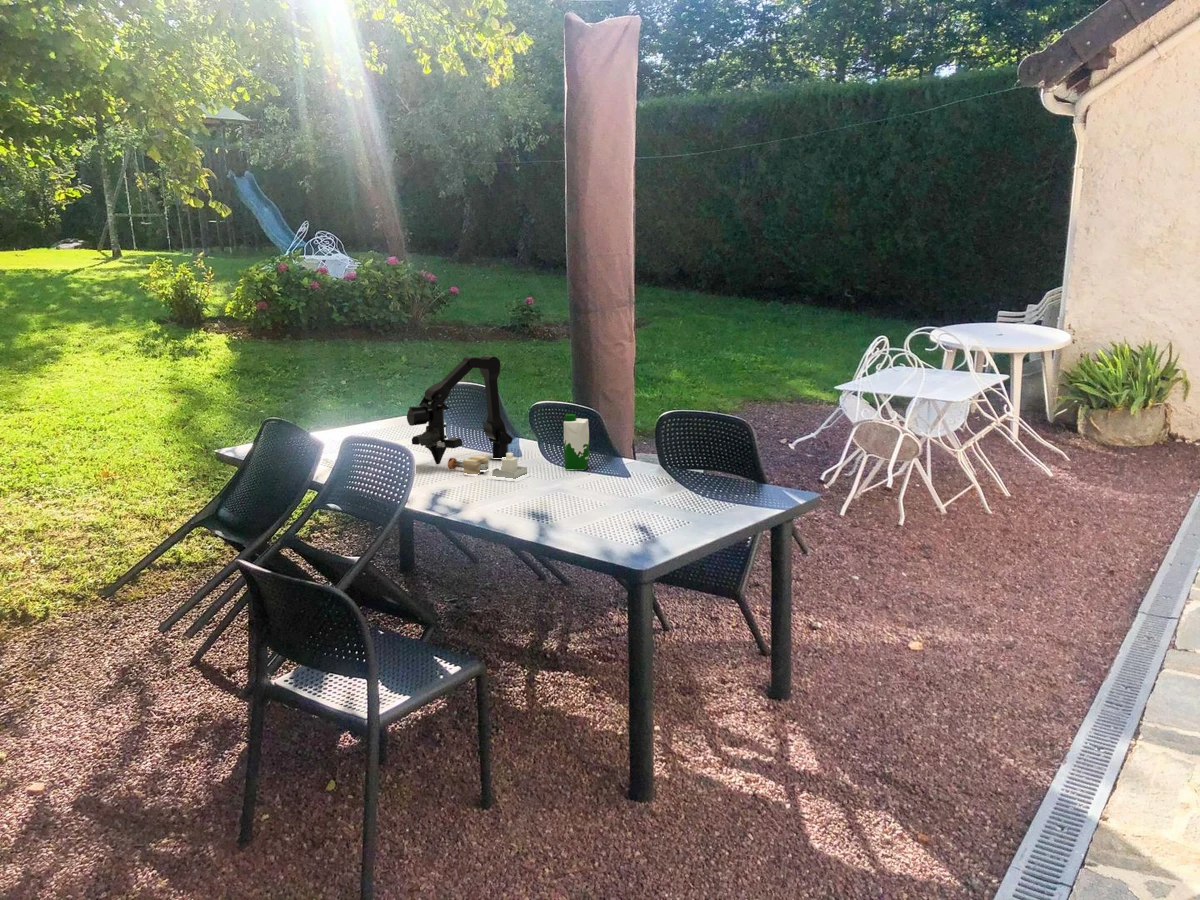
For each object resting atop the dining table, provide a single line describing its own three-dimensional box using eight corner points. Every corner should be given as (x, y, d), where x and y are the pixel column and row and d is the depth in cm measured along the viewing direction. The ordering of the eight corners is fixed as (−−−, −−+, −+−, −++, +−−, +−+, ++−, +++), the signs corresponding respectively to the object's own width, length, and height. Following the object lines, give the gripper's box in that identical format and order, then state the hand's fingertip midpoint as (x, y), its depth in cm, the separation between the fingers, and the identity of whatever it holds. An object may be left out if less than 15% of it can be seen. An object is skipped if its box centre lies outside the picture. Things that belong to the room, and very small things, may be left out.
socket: (504, 471, 344) (503, 463, 344) (533, 474, 339) (532, 466, 339) (486, 479, 334) (486, 470, 333) (516, 482, 329) (516, 474, 328)
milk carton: (566, 465, 354) (566, 412, 349) (590, 466, 352) (590, 412, 348) (562, 470, 345) (561, 416, 341) (586, 471, 344) (586, 417, 339)
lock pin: (454, 467, 349) (454, 456, 348) (488, 471, 343) (488, 460, 342) (448, 470, 345) (447, 459, 344) (482, 474, 339) (482, 462, 338)
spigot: (507, 473, 339) (507, 451, 337) (517, 474, 338) (517, 452, 336) (502, 475, 336) (501, 453, 334) (512, 477, 334) (511, 454, 332)
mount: (476, 469, 347) (476, 455, 346) (488, 471, 345) (488, 456, 344) (463, 475, 340) (463, 460, 338) (475, 476, 338) (475, 461, 336)
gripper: (401, 424, 342) (403, 466, 346) (445, 428, 334) (446, 471, 338) (419, 419, 352) (421, 460, 355) (462, 422, 344) (464, 464, 348)
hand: (437, 464), depth 349 cm, fingers closed
